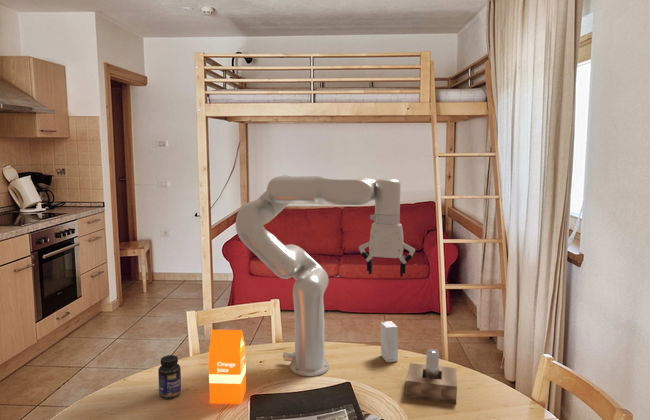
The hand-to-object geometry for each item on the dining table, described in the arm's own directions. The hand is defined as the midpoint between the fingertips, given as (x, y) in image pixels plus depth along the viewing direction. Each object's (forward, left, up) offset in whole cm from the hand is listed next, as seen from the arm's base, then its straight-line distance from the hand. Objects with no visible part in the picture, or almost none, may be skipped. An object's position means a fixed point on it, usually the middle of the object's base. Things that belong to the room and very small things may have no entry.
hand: (386, 274), depth 151 cm
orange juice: (-41, -26, -32) cm, 59 cm away
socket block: (+15, -7, -32) cm, 36 cm away
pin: (+15, -7, -31) cm, 35 cm away
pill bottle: (-58, -29, -32) cm, 73 cm away
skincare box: (0, +12, -32) cm, 35 cm away
